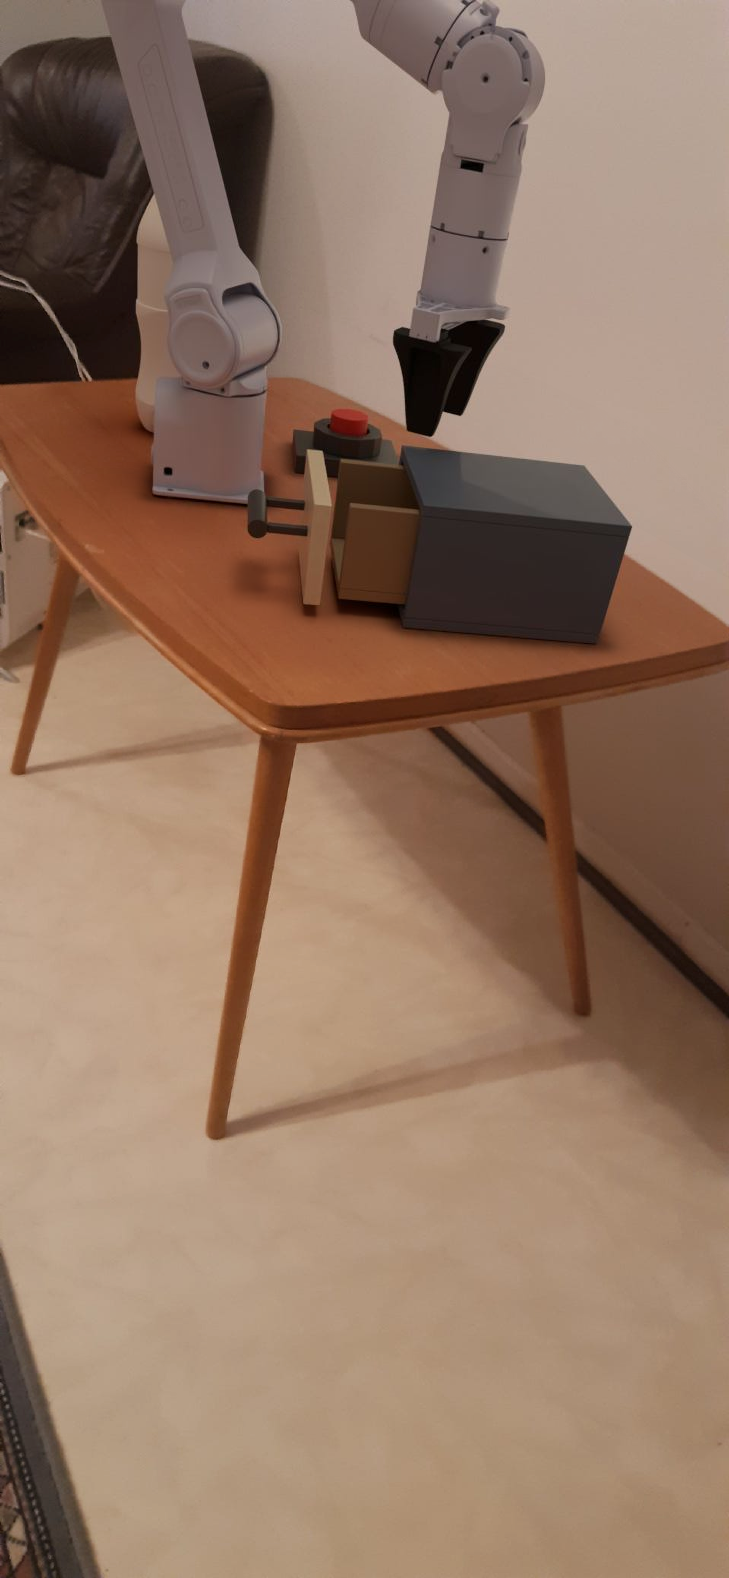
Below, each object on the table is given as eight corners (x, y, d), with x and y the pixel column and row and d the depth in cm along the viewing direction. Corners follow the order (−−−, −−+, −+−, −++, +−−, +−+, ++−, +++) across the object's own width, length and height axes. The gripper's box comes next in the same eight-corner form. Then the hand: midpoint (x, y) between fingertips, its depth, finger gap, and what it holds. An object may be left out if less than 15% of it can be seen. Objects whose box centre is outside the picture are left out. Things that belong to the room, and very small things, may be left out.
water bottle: (176, 446, 98) (185, 141, 84) (119, 426, 101) (119, 127, 87) (222, 433, 104) (238, 144, 89) (168, 414, 106) (175, 131, 92)
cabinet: (402, 628, 73) (424, 504, 68) (384, 556, 83) (401, 445, 78) (597, 644, 75) (632, 526, 70) (556, 573, 85) (584, 465, 80)
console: (294, 472, 97) (298, 435, 95) (291, 446, 103) (295, 410, 101) (398, 483, 98) (404, 447, 96) (389, 456, 105) (394, 422, 103)
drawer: (243, 599, 71) (250, 497, 67) (244, 535, 81) (250, 442, 76) (489, 620, 74) (511, 523, 70) (462, 556, 83) (480, 468, 79)
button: (330, 436, 97) (332, 418, 96) (328, 425, 100) (330, 407, 99) (367, 440, 98) (370, 422, 97) (364, 429, 101) (366, 411, 100)
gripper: (494, 251, 68) (455, 456, 75) (545, 236, 79) (506, 415, 87) (395, 230, 69) (367, 433, 77) (459, 218, 81) (428, 396, 88)
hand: (435, 422), depth 82 cm, fingers open, 7 cm apart
